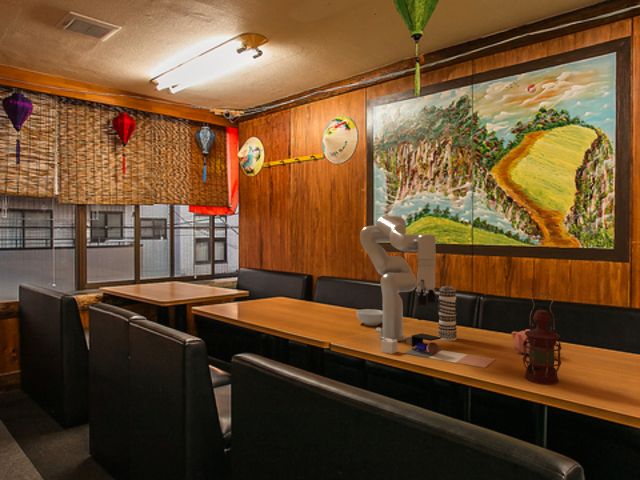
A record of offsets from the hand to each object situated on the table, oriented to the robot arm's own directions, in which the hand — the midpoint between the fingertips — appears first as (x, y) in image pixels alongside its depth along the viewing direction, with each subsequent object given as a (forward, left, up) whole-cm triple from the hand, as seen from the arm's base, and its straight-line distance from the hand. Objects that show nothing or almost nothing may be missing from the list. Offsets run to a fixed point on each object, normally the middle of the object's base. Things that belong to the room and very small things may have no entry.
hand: (427, 303), depth 187 cm
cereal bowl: (-48, +36, -21) cm, 63 cm away
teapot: (+35, +24, -21) cm, 47 cm away
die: (-13, -9, -21) cm, 26 cm away
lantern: (+46, -9, -21) cm, 52 cm away
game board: (+10, -1, -21) cm, 23 cm away
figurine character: (-1, -1, -21) cm, 21 cm away
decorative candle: (-2, +29, -21) cm, 35 cm away
